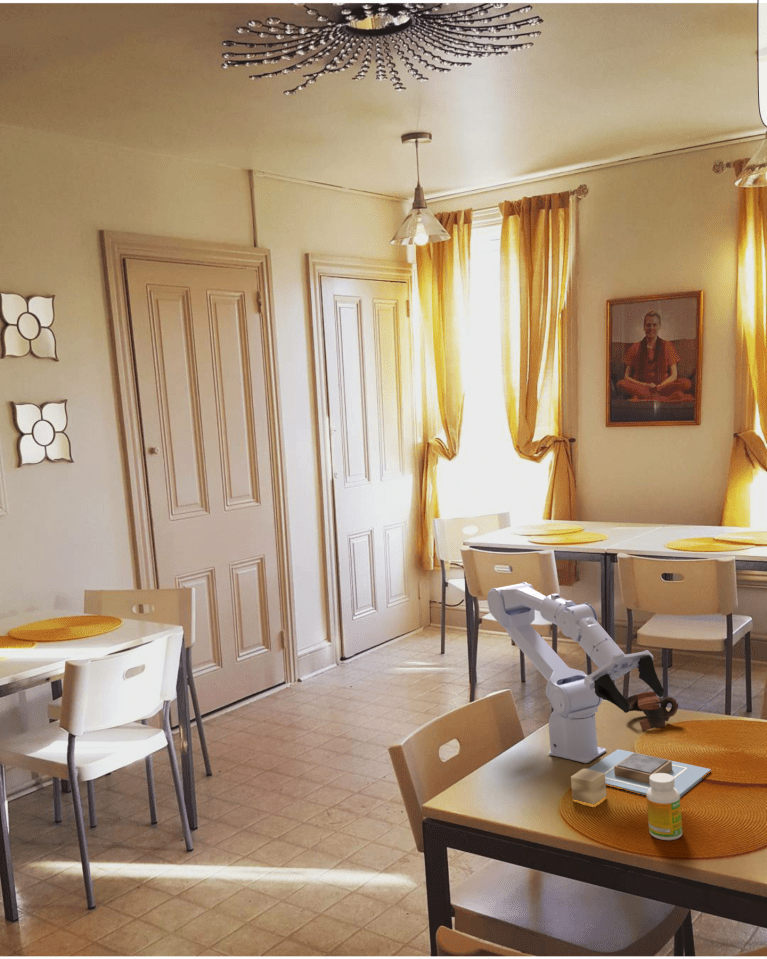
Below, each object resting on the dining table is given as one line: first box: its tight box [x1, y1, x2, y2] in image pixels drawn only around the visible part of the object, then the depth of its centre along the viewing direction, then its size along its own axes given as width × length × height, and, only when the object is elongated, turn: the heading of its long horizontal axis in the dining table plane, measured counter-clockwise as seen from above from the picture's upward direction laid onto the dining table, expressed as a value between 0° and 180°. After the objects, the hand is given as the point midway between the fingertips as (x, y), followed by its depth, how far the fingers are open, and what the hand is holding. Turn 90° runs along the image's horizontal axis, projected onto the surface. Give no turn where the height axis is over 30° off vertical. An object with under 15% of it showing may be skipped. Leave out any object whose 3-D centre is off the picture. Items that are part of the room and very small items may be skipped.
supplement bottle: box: [646, 773, 683, 841], centre depth 146 cm, size 5×5×10 cm
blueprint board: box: [587, 748, 712, 798], centre depth 170 cm, size 20×16×3 cm
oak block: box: [570, 767, 608, 805], centre depth 161 cm, size 4×4×5 cm
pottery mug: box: [625, 691, 679, 731], centre depth 197 cm, size 12×10×8 cm
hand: (645, 701), depth 162 cm, fingers open, 7 cm apart
